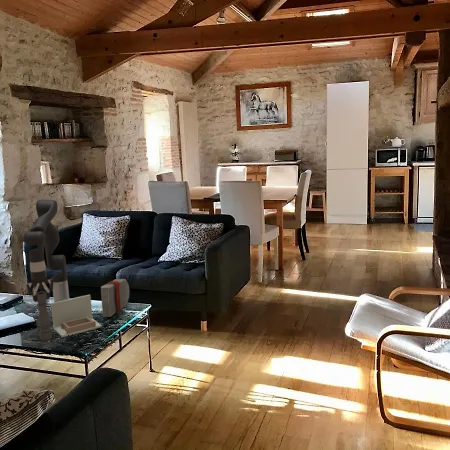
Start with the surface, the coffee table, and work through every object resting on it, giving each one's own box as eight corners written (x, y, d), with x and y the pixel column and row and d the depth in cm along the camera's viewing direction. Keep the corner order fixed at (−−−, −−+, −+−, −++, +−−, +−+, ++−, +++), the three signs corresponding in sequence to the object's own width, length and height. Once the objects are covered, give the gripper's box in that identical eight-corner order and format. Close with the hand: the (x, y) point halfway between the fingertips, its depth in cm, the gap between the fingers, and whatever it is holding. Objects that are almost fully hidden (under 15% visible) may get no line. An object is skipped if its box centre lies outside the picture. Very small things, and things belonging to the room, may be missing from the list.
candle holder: (52, 339, 269) (46, 294, 265) (39, 341, 268) (34, 295, 263) (52, 335, 275) (47, 290, 271) (40, 336, 274) (35, 292, 269)
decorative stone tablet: (109, 286, 290) (130, 275, 319) (99, 285, 292) (120, 275, 321) (111, 319, 292) (131, 305, 321) (100, 319, 293) (121, 305, 323)
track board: (53, 328, 284) (50, 303, 281) (92, 319, 296) (89, 294, 293) (61, 337, 272) (58, 310, 269) (101, 326, 284) (99, 301, 281)
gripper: (50, 265, 271) (53, 295, 275) (21, 270, 264) (25, 301, 267) (54, 268, 265) (57, 299, 268) (25, 273, 257) (29, 305, 261)
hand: (41, 300), depth 268 cm, fingers closed on candle holder, 5 cm apart
